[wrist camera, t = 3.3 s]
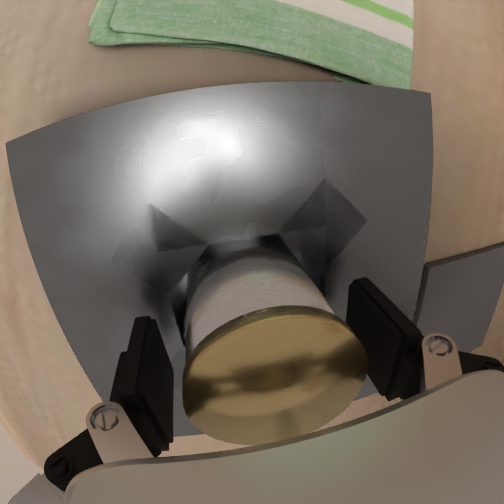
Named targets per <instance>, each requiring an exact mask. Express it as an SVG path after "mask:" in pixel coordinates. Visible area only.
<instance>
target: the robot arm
mask: <svg viewBox="0 0 504 504" xmlns="http://www.w3.org/2000/svg"><path fill="white" fill-rule="evenodd" d="M346 324H347V325H348V326H349V327H350V329H351V330H352V331H353V333H354V334H355V335H356V337H357V338H358V340H359V341H360V342H361V344H362V345H363V347H364V349H365V351H366V355H367V359H368V369H367V375H368V376H369V378H370V379H371V381H372V383H373V384H374V386H375V387H376V389H377V390H378V392H379V393H380V395H381V396H385V397H386V399H387V400H388V401H391V400H393V399H395V398H398V397H400V399H402V401H401V402H399V403H396V404H394V405H392V406H389V407H387V408H384V409H382V410H379V411H376V412H374V413H371V414H368V415H366V416H363V417H360V418H357V419H354V420H351V421H348V422H345V423H342V424H339V425H336V426H333V427H330V428H326V429H323V430H319V431H316V432H312V433H309V434H305V435H301V436H297V437H293V438H289V439H285V440H280V441H276V442H271V443H266V444H261V445H256V446H251V447H245V448H239V449H233V450H226V451H219V452H211V453H202V454H193V455H183V456H171V457H158V456H159V455H160V454H161V451H169V443H173V398H174V371H173V367H172V364H171V361H170V359H169V356H168V353H167V351H166V348H165V345H164V342H163V339H162V336H161V333H160V330H159V328H158V325H157V322H156V319H151V317H150V316H142V317H136V318H135V320H134V324H133V328H132V331H131V335H130V339H129V344H128V348H127V351H124V352H121V354H120V356H119V360H118V364H117V368H116V373H115V377H114V381H113V386H112V390H111V395H110V400H109V401H106V402H101V403H98V404H97V405H95V406H94V407H92V408H91V409H90V411H89V412H88V414H87V416H86V425H87V429H86V430H85V431H83V432H82V433H80V434H79V435H78V436H76V437H75V438H74V439H72V440H71V441H69V442H68V443H67V444H65V445H64V446H62V447H61V448H60V449H58V450H57V451H55V452H54V453H52V454H51V455H50V456H49V457H48V458H47V460H46V462H45V465H44V474H42V475H40V474H37V475H36V476H35V477H34V478H33V479H32V480H31V481H30V482H29V483H28V484H27V485H25V486H24V487H23V488H22V489H21V490H20V491H19V492H18V493H17V494H16V495H14V496H13V497H12V498H11V500H10V501H9V503H8V504H504V366H503V365H502V364H501V363H500V362H499V361H498V360H496V359H494V358H491V357H486V356H481V355H476V354H471V353H466V352H461V351H457V346H456V344H455V342H454V341H453V340H452V339H451V338H450V337H448V336H447V335H444V334H440V333H432V334H429V335H427V336H426V337H424V336H423V335H422V334H421V331H420V330H419V329H418V328H417V327H416V326H415V325H414V324H413V323H412V322H411V320H410V319H409V318H408V317H407V316H406V315H405V314H404V313H403V312H402V311H401V310H400V309H399V308H398V307H397V306H396V305H395V304H394V303H393V302H392V301H391V300H390V299H389V298H388V297H387V296H386V295H385V294H384V293H383V292H382V291H381V290H380V289H379V288H378V287H377V286H376V285H375V284H373V283H372V282H371V281H370V280H369V279H368V278H367V277H363V278H359V279H354V280H353V281H352V284H350V285H349V289H348V302H347V313H346Z"/></svg>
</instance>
